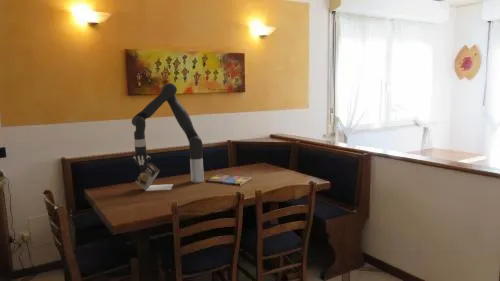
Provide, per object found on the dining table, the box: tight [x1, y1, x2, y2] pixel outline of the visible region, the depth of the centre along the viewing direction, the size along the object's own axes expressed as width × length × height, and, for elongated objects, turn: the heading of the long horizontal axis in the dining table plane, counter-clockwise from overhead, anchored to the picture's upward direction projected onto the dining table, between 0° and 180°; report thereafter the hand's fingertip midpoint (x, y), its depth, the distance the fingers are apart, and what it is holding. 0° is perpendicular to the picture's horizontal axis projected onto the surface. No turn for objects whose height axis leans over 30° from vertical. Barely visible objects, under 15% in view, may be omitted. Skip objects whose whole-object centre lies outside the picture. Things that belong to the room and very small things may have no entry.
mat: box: [145, 183, 174, 192], centre depth 274 cm, size 17×13×1 cm
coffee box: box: [135, 162, 161, 191], centre depth 269 cm, size 9×6×16 cm
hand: (142, 170), depth 270 cm, fingers closed
